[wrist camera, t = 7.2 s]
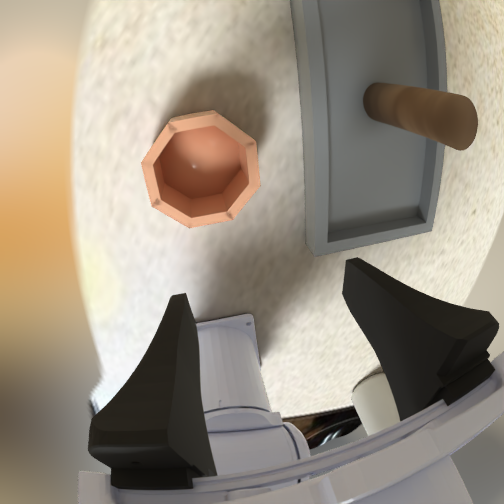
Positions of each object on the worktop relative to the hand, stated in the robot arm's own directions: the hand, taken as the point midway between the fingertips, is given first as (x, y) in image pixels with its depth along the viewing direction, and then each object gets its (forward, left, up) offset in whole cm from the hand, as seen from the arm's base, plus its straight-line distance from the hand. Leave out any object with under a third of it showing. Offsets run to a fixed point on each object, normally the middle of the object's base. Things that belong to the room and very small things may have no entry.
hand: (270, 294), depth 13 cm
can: (-33, -17, -10) cm, 38 cm away
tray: (+7, -11, -9) cm, 16 cm away
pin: (+7, -11, -9) cm, 16 cm away
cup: (+4, +2, -9) cm, 10 cm away
